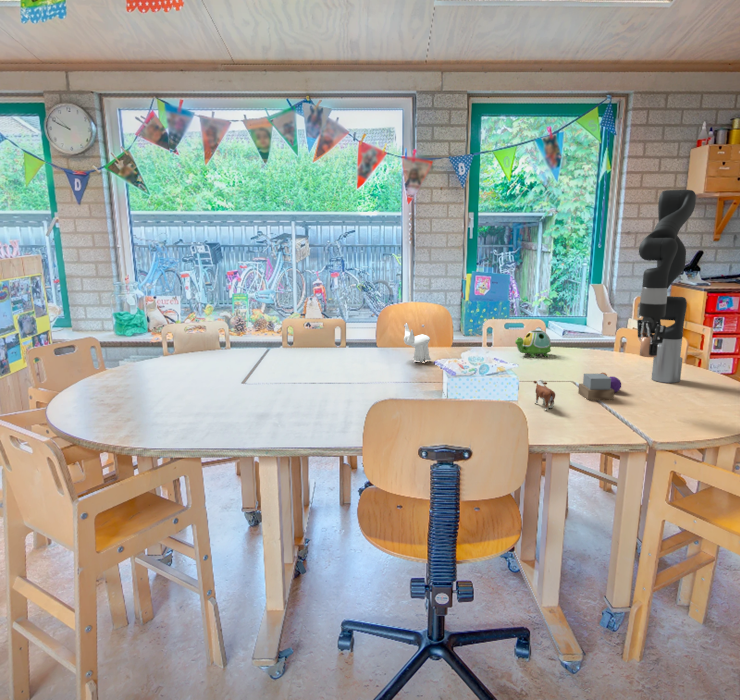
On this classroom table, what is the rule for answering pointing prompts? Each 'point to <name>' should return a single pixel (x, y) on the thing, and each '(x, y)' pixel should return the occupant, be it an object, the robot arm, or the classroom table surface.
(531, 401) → the classroom table surface
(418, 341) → the toy animal
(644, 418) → the classroom table surface
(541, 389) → the bull figurine
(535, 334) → the turtle holder
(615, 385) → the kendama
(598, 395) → the bottom block
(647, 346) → the terracotta cylinder
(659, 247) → the robot arm
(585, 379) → the top block
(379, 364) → the classroom table surface
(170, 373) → the classroom table surface
